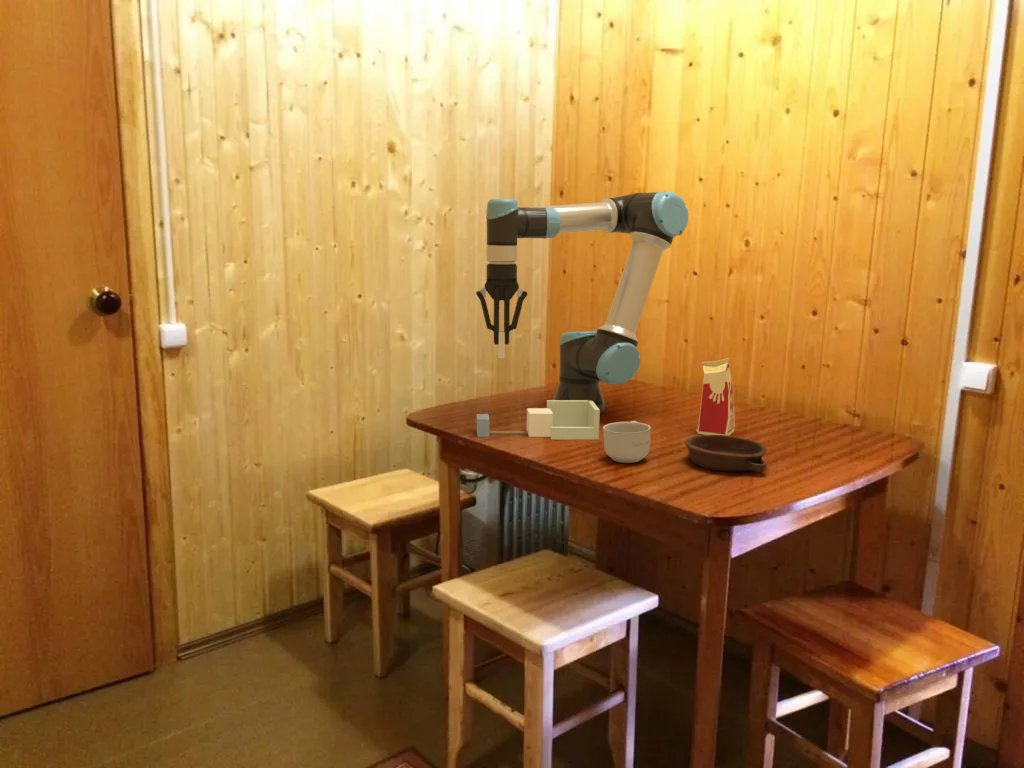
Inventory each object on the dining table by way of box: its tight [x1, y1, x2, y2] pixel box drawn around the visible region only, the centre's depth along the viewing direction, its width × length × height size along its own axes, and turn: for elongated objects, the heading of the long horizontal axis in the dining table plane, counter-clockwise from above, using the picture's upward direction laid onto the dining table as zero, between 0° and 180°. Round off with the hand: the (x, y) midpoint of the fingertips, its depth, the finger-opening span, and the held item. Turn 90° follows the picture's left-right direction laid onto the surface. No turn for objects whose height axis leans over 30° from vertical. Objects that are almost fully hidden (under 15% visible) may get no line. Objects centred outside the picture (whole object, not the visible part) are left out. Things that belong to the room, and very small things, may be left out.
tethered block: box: [476, 407, 553, 438], centre depth 207 cm, size 19×6×6 cm, turn 94°
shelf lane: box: [546, 399, 601, 441], centre depth 207 cm, size 12×11×8 cm
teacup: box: [602, 420, 652, 464], centre depth 187 cm, size 14×11×8 cm
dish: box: [684, 434, 768, 473], centre depth 183 cm, size 18×22×5 cm
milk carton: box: [695, 357, 736, 436], centre depth 211 cm, size 9×9×20 cm
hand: (501, 357), depth 204 cm, fingers closed
